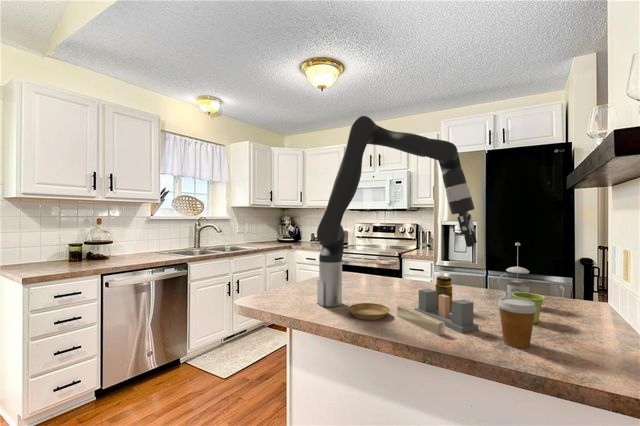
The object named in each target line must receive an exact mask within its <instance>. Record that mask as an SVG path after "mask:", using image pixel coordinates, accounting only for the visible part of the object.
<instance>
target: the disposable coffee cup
mask: <svg viewBox="0 0 640 426" xmlns="http://www.w3.org/2000/svg"><path fill="white" fill-rule="evenodd" d="M498 300H499V301H498V302H497V306H498V309H499V314H500V323H501V333H502V339H503V343H504V344H506V345H507V346H509V347H513V348H517V349H528V348H530V346H531V342H532V341H531V340H532V333H533V326H534V323H533V321H534V315H535V312H536V310H537V308H536V306H535V303H534V302H532V301H530V300H526V299H521V298H513V297H506V296H505V297H504V296H503V297H500V298H499V299H498Z"/></svg>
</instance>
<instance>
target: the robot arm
mask: <svg viewBox="0 0 640 426" xmlns="http://www.w3.org/2000/svg"><path fill="white" fill-rule="evenodd" d="M367 145H373V146H382V147H387V148H390V149H395V150H398V151H400V152H404V153H407V154H411V155H414V156H417V157H420V158H421V157H422V158H424V157H425V158H426V157H427V158H429V159H433V160H434V161H435V160H437V162H438V165H439V168H440V170H441V173H442V175H441V176H442V181H443V185H444V189H445V195H446V198H447V203H448V206H449V211H450V213H451V215H457V214H458V216H457V222H458V225H459V226H458V227H459V229H460V234H461V236H463V237H464V241H465V244H466V245H465V246H466V247H467V248H470V247H474V246H475V244H477V242H478V240H477V238H476V234H475V231H476V228H475V224H474V221H473V217H472V215H471V213H469V212H470V211H474V210H475V205H474V202H473V199H472V195H471V191H470V188H469V186H468V183H467V179H466V177H465V173H464V171H463V168H462V164H461V159H460V157H459V151H458V148H457V146H456V144H454V143H453V142H450V141H447V140H443V139H435V138H429V137H427V136H423V135H420V134H415V133H412V132H402V131H400V132H399V131H395V130H393V131H392V130H389V129H386V128H384V127H382V126H379V125H378V124H377V123H376V122H374V120H373V119H372V118H370V117H369V116H367V115H359V116H358V117H357V118H355V120H353V122H352V123H351V126H350V130H349V134H348V138H347V143H346V147H345V150H344V153H343V156H342V159H341V162H340V164H339V167H338V171H337V172H336V173H337V174H336V176H335V179H334V182H333V186H332V190H331V192H330V196H329V199H328V202H327V206H326V209H325V211H324V214H323V215H322V218H321V220H320V222H319V224H318V227H317V230H316V237H317V239H318V241H319V242H320V243H321V250H320V253H319V256H318V268H319V269H318V279H317V280H316V281H317V283H316V284H317V285H316V287H317V288H316V290H317V291H316V299H317V300H316V302H317V304H318V305H320V306H321V307H327V308H328V307H329V308H331V307H333V308H334V307H340V306H341V305H343V256H344V249H345V248H344V247H345V246H344V245H345V231H344V228H343V226H342V220H343V217H344V215H345V212H346V211H347V209H348V207H349V205H350V204H351V202H352V200H353V199H354V196H355V195H356V193H357V189H358V188H359V184H360V180H361V177H362V170H363V167H362V166H363V157H364V154H365V151H366V147H367Z"/></svg>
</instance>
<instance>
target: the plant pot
mask: <svg viewBox="0 0 640 426" xmlns="http://www.w3.org/2000/svg"><path fill="white" fill-rule="evenodd" d="M512 295H513V297H514V298H521V299H526V300H530V301H532V302H534V303H535V306H536V308H537V310H536V312H535V315H534V321H533V324H536V323H537V324H539V319H540V314H541V309H542V304H543V301H544V300H545V299H546V298H545V296H543V295H539V294H537V293H531V292H529V293H526V292H521V291H520V292H513V293H512Z"/></svg>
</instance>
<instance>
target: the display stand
mask: <svg viewBox="0 0 640 426" xmlns="http://www.w3.org/2000/svg"><path fill="white" fill-rule="evenodd" d="M474 304H475V303H474V302H473V301H471V300H468V299H467V300H466V299H457V300H452V311H450V296H447V295H443V294H442V295H439V310H438V309H437V291H436V289H432V288H425V289H423V288H422V289H418V307H415V308H414V310H416V311H419V312H421V313H423V314H426V315H428V316H431V317H433V318H435V319H438V320H440V321H443V322H445V328H450V329H451V330H454V331H456V332H458V333H460V334H464V333H469V332H475V331H479V325H478V324H476V323H474ZM450 312H451V314H450Z"/></svg>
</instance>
